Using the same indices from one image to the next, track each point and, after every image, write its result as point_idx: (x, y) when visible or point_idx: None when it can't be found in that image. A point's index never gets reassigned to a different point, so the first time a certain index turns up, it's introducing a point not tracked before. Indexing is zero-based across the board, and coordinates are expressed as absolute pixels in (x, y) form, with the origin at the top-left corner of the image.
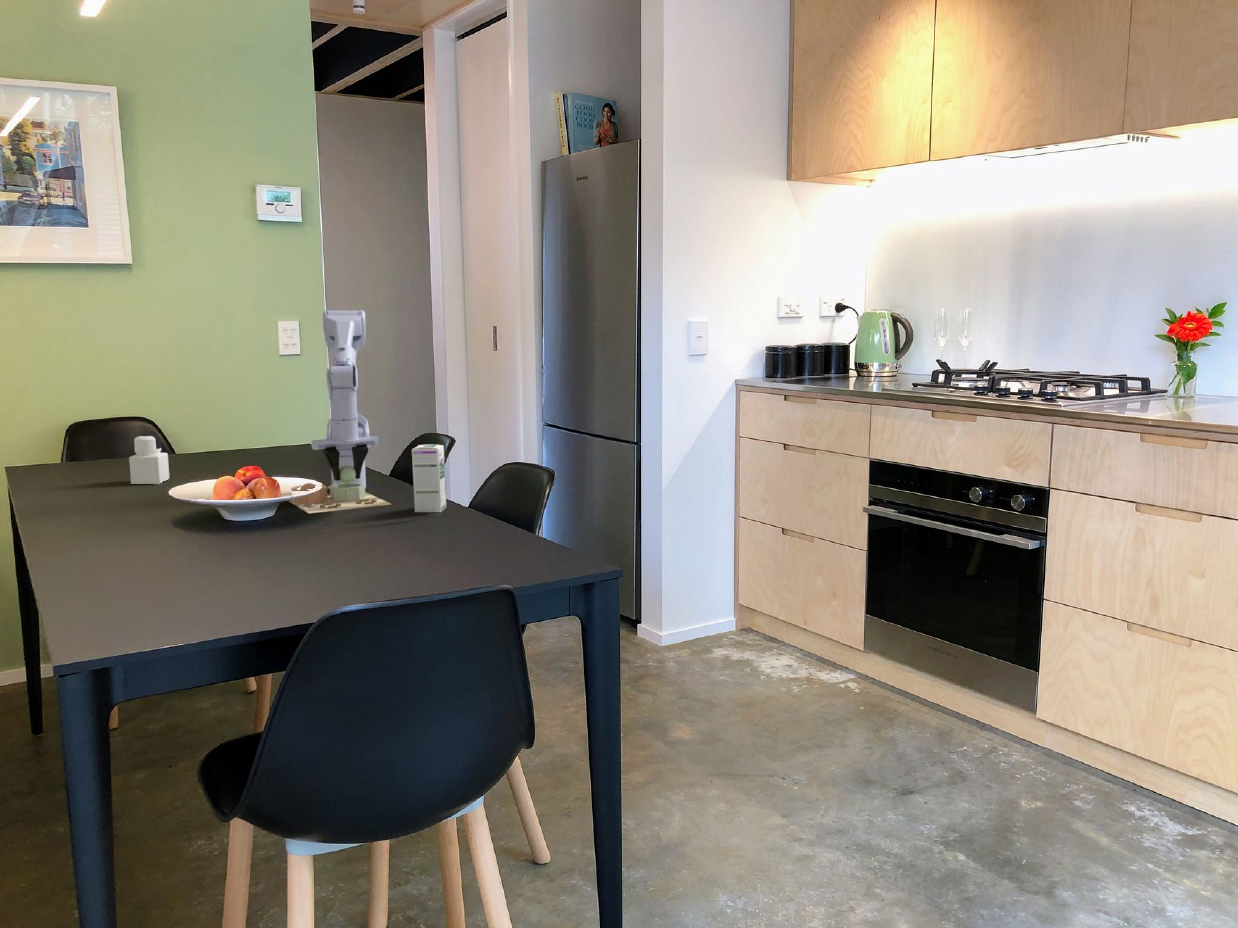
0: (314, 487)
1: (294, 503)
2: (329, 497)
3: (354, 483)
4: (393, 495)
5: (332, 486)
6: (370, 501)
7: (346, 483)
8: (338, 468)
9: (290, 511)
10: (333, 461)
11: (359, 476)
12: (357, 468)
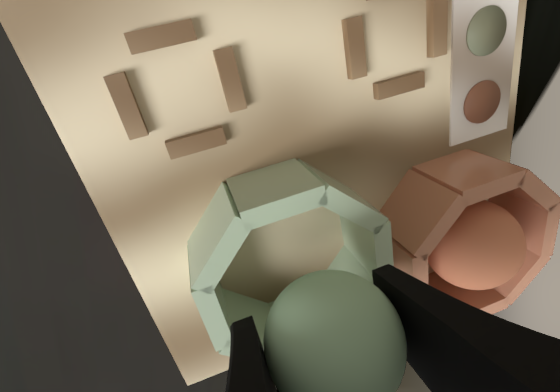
0: (477, 236)
1: None
2: None
3: None
4: (32, 365)
5: None
6: (153, 122)
7: None
8: (444, 315)
9: (531, 77)
10: (558, 344)
11: (235, 331)
12: (265, 382)
